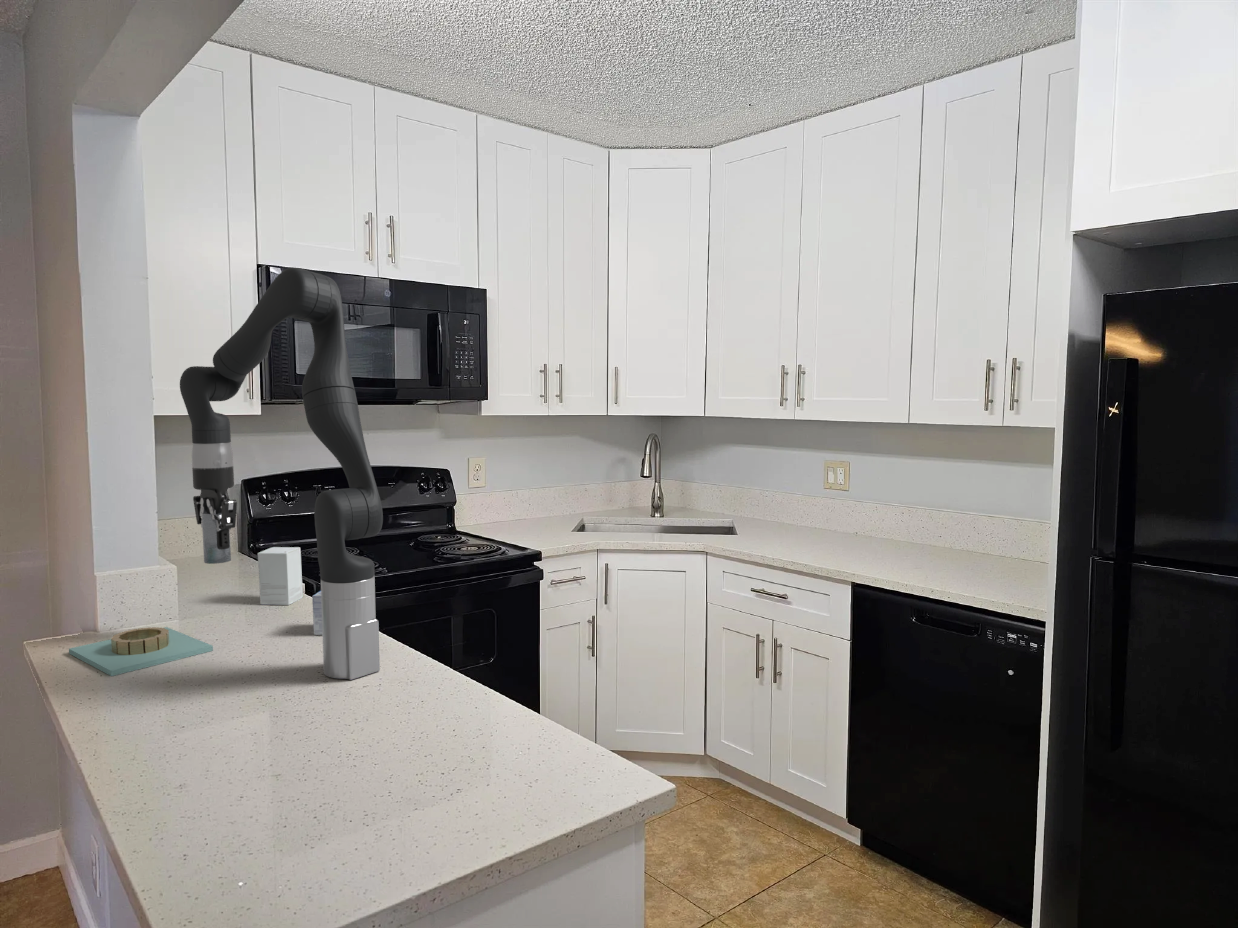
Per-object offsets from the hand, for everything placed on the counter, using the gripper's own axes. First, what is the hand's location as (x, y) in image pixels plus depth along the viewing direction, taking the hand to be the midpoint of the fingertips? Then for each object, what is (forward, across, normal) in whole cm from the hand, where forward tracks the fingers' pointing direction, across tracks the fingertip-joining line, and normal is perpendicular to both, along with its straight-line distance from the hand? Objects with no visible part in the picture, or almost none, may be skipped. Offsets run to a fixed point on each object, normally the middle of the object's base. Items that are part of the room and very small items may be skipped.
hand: (216, 546), depth 168 cm
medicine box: (+19, -15, -16) cm, 29 cm away
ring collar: (+18, +1, +15) cm, 24 cm away
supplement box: (+19, +15, -22) cm, 33 cm away
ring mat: (+18, +1, +15) cm, 24 cm away
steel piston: (+3, 0, 0) cm, 3 cm away
